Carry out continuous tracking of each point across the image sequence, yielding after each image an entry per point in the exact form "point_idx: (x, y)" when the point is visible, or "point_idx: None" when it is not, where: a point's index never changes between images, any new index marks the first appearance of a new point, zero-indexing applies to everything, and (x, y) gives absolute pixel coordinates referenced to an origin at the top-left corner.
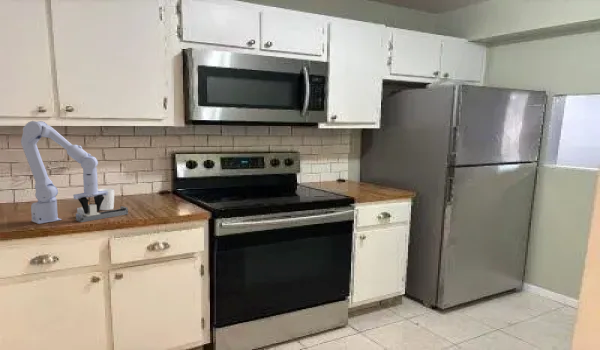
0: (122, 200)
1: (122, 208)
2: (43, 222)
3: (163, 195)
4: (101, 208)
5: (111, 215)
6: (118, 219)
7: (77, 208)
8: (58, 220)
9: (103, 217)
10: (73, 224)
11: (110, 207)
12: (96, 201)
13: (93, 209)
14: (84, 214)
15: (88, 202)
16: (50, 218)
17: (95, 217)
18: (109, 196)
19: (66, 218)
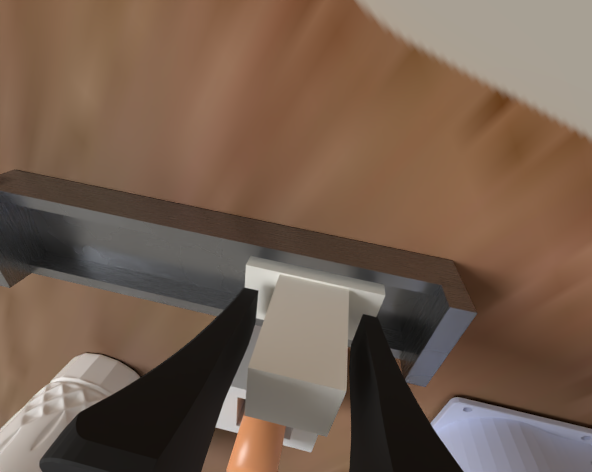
0: (4, 413)
1: (8, 250)
2: (582, 429)
3: None
4: None
5: (159, 207)
6: (156, 34)
7: (313, 446)
8: (476, 401)
9: (239, 220)
10: (558, 255)
11: (86, 365)
12: (205, 425)
13: (304, 325)
14: None
15: (236, 464)
16: (536, 442)
17: (315, 244)
18: (16, 452)
19: None
